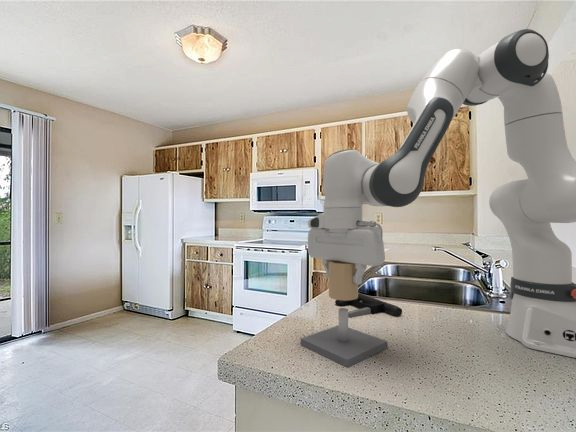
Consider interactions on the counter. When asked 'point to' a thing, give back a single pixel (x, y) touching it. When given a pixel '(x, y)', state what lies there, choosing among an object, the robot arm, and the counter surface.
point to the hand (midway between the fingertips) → (343, 280)
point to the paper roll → (342, 281)
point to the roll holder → (344, 342)
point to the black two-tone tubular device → (369, 306)
